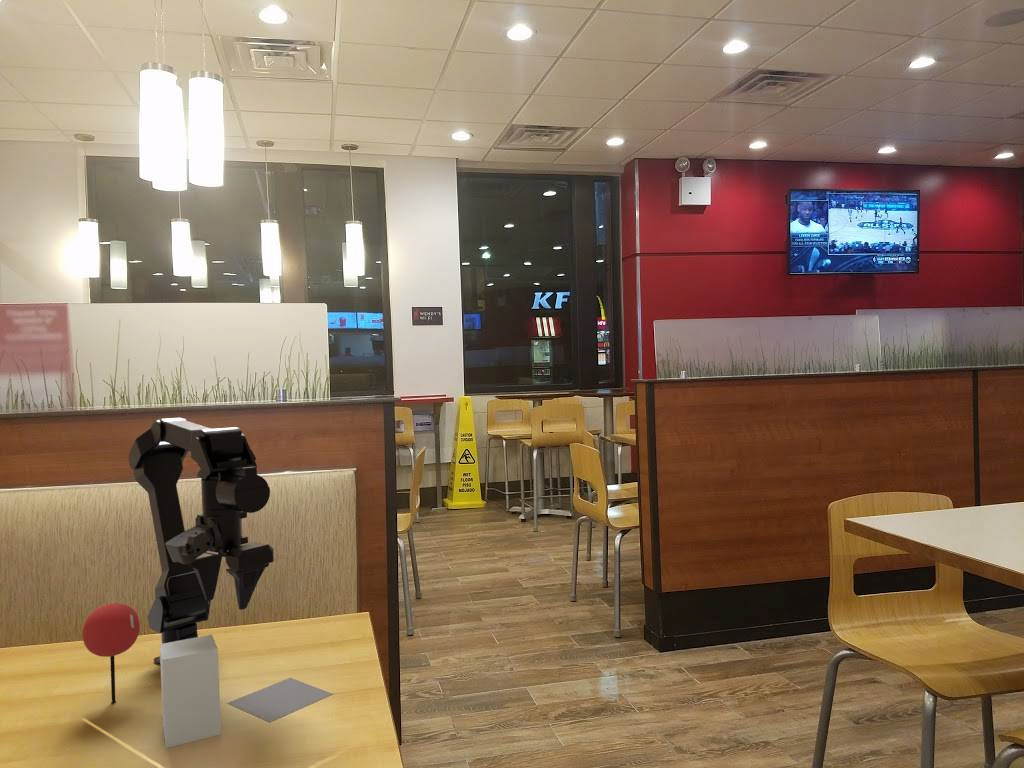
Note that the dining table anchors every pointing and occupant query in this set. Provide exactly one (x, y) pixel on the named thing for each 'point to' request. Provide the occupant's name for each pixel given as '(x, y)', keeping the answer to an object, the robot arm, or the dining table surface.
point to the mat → (279, 699)
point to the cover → (190, 690)
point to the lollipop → (111, 633)
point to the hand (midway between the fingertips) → (225, 604)
